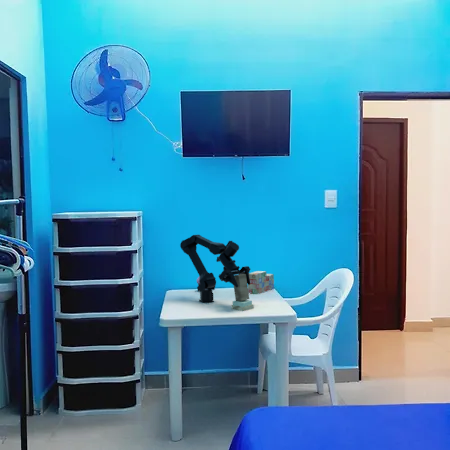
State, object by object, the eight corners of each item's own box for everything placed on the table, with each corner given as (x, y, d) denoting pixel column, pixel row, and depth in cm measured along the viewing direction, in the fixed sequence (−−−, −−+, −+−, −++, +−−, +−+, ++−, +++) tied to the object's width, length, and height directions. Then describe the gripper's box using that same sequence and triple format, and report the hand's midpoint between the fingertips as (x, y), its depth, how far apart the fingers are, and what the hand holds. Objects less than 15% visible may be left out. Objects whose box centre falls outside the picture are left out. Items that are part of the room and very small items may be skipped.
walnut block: (235, 300, 238) (232, 275, 239) (242, 299, 242) (239, 274, 242) (242, 300, 234) (238, 275, 235) (249, 299, 238) (245, 273, 239)
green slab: (232, 305, 237) (232, 301, 237) (241, 302, 243) (241, 299, 242) (243, 306, 233) (243, 303, 233) (251, 304, 238) (251, 300, 238)
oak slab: (231, 309, 238) (231, 305, 238) (242, 307, 244) (242, 302, 243) (243, 312, 232) (243, 307, 232) (253, 309, 238) (253, 304, 238)
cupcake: (201, 289, 294) (201, 273, 294) (213, 290, 290) (213, 274, 290) (194, 291, 286) (194, 275, 286) (206, 292, 282) (206, 276, 282)
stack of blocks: (265, 287, 295) (265, 268, 295) (274, 288, 292) (273, 269, 291) (247, 293, 278) (247, 273, 277) (256, 294, 274) (256, 274, 274)
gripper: (232, 270, 254) (247, 292, 247) (207, 274, 241) (223, 298, 234) (242, 257, 249) (258, 279, 241) (218, 260, 235) (234, 284, 228)
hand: (243, 285), depth 236 cm, fingers open, 9 cm apart
